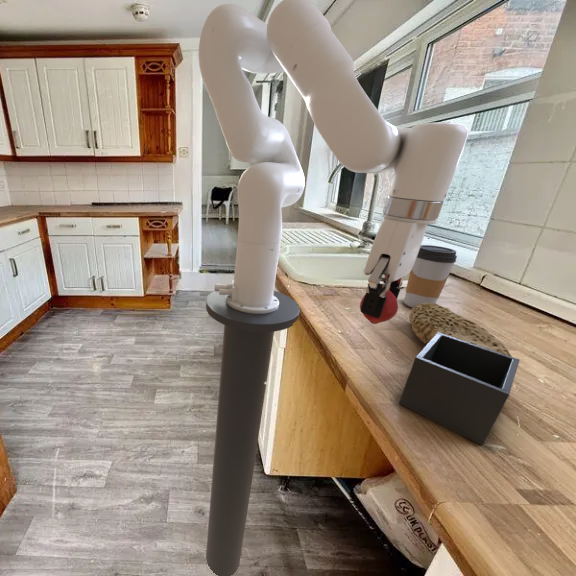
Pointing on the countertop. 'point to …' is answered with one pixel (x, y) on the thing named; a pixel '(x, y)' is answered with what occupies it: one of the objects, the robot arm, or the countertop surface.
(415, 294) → the coffee cup
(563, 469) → the countertop surface
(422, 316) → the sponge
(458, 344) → the waste bin
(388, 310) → the onion
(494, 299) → the countertop surface
